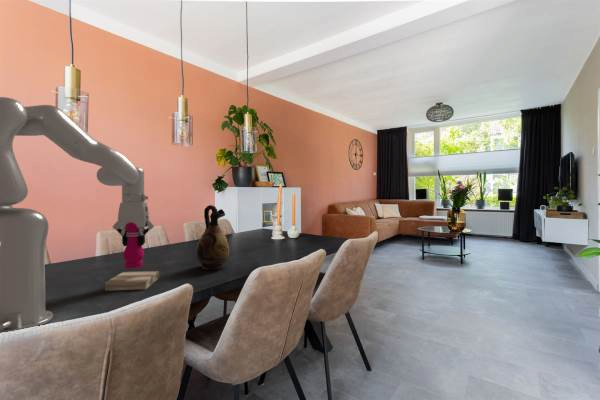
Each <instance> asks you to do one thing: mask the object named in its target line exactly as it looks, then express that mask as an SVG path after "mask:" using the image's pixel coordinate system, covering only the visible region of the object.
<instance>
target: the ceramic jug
mask: <svg viewBox="0 0 600 400" xmlns="http://www.w3.org/2000/svg"><path fill="white" fill-rule="evenodd" d="M210 211H211V212H210ZM203 212H204V213H203V214H204V216H203V217H204V224H205V230H204V231H203V233H202V235H201V236H200V238H199V240H198V242H197V245H196V249H195V250H196V251H195V255H196V259H197V260H198V262H199V263H200V264H201V268H202V269H203V270H207V271H213V270H214V271H216V270H220V269H222V268H223V266H224V264H225V262H226V261H228V258H229V255H230V246H229V241H228V238H227V236H226V235H225V233H224V231H223V230H222V228H221V227H220V225H219V222H218V220H219V219H220V218H223V217H226V212H225V211H224V209H222V208H221V209H217V207H216V206H215V205H212V204H209V205H207V206H206V207H205V208H204V211H203ZM210 213H211V214H210Z"/></svg>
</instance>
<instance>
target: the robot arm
mask: <svg viewBox="0 0 600 400" xmlns="http://www.w3.org/2000/svg"><path fill="white" fill-rule="evenodd" d="M16 136H17V137H19V136H20V137H30V136H32V137H34V136H35V137H36V136H45V137H46V138H47V139H48V140H50V141H51V142H53V144H55V145H56V146H57V147H59V148H60V149H61V150H62V151H64V152H65V153H66V154H67V155H69V156H70V157H71V158H74V159H76V160H79V161H82V162H86V163H89V164H93V165H96V166H99V169H98V170H97V172H96V179H97V180H98V181H99V183H101V184H102V185H104V186H109V187H111V186H112V187H115V186H116V187H117V186H118V187H119V186H120V187H121V202H120V203H119V207H118V215H117V221H116V222H115V223H114V224H113V225H112V229H114V230H115V231H116V232H118V233H119V235H120V236H121V237H122V238H121V243H122V247H126V246H127V242H128V237H127V236H126V235H127V234H126V233H127V231H126V230H125V226H126V224H127V223H130V222H132V223H135V224H136V225H137V228H139V232H140V236H139V246H142V247H143V246H144V245H145V243H146V235H147V233H148V232H150V231H151V230H152V229H154V227H155V226H154V224H153V223H152V222H151V221H150V215H149V207H148V203H147V202H145V201H146V200H147V201H148V199H149V196H148V195H147V196H146V194H145V170H144V169H143V168H141V167H137V166H135V165H134V164H133V163H132V162H131V161H130V160H129V159H128V157H126V156H125V155H123V154H122V153H120V152H119V151H118V150H116V149H113V148H111V147H109V146H108V145H105V144H104V143H102V142H100V141H98V140H96V139H94V138H93V137H92V135H90V134H88V132H86V131H85V130H84V128H82V126H80V125H79V124H78V123H77V122H75V121H74V120H73V119H72V118H71V117H70V116H69V115H68V114H67V113H65V112H64V111H63V110H62V109H60V108H59V107H58V106H54V105H51V104H50V105H49V104H39V105H31V106H29V105H28V106H24V105H23V103H21V102H20V101H18V100H16V99H14V98H12V97H5V96H0V333H1V332H8V331H14V330H19V329H24V328H29V327H33V326H38V325H41V326H43V325H45V324H47V323H49V322H50V321H51V320H52V319H53V316H54V313H53V312H52V311H50V310H46V266H45V265H46V262H45V252H46V244H47V243H46V242H47V238H48V235H49V234H48V233H49V222H48V219H47V218H46V216H45V214H42V213H41V212H39V211H38V210H35V209H32V208H27V207H26V208H25V207H23V208H22V207H13V206H14V205H16V204H20V203H22V202H23V201H25V199H26V198H27V197H28V193H29V190H28V185H27V183H26V180H25V177H24V176H23V173H22V171H21V169H20V168H21V167H19V164H18V161H17V158H16V155H15V153H14V148H13V142H14V139H15V137H16Z"/></svg>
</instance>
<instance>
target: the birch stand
mask: <svg viewBox="0 0 600 400" xmlns="http://www.w3.org/2000/svg"><path fill="white" fill-rule="evenodd" d="M158 279H160V271H159V270H151V271H150V270H148V271H147V270H144V271H143V270H141V271H122V272H121V273H119V274H117V275H115V276H114V277H112V278H111V279H109V280H107V281H105V282H104V291H106V292H107V291H129V290H130V291H133V290H134V291H137V290H139V291H140V290H147V289H148V288H149V287H150V286H151V285H152V284H154V283H155V282H156V281H157V280H158Z"/></svg>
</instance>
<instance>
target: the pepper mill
mask: <svg viewBox="0 0 600 400" xmlns="http://www.w3.org/2000/svg"><path fill="white" fill-rule="evenodd" d="M125 230H126V231H127V233H126V234H127V235H126V236H127V237H128V242H127V246H125V249H124V251H123V255H122V257H123V258H122V259H123V260H124V261H125V262H124V268H125V269H136V268H140V267H143V266H144V261H143V258H145V251H144V248H143V245H142V246H139V236H140V232H139V228H137V225H136V224H135V223H132V222H130V223H127V224H126V226H125Z"/></svg>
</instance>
